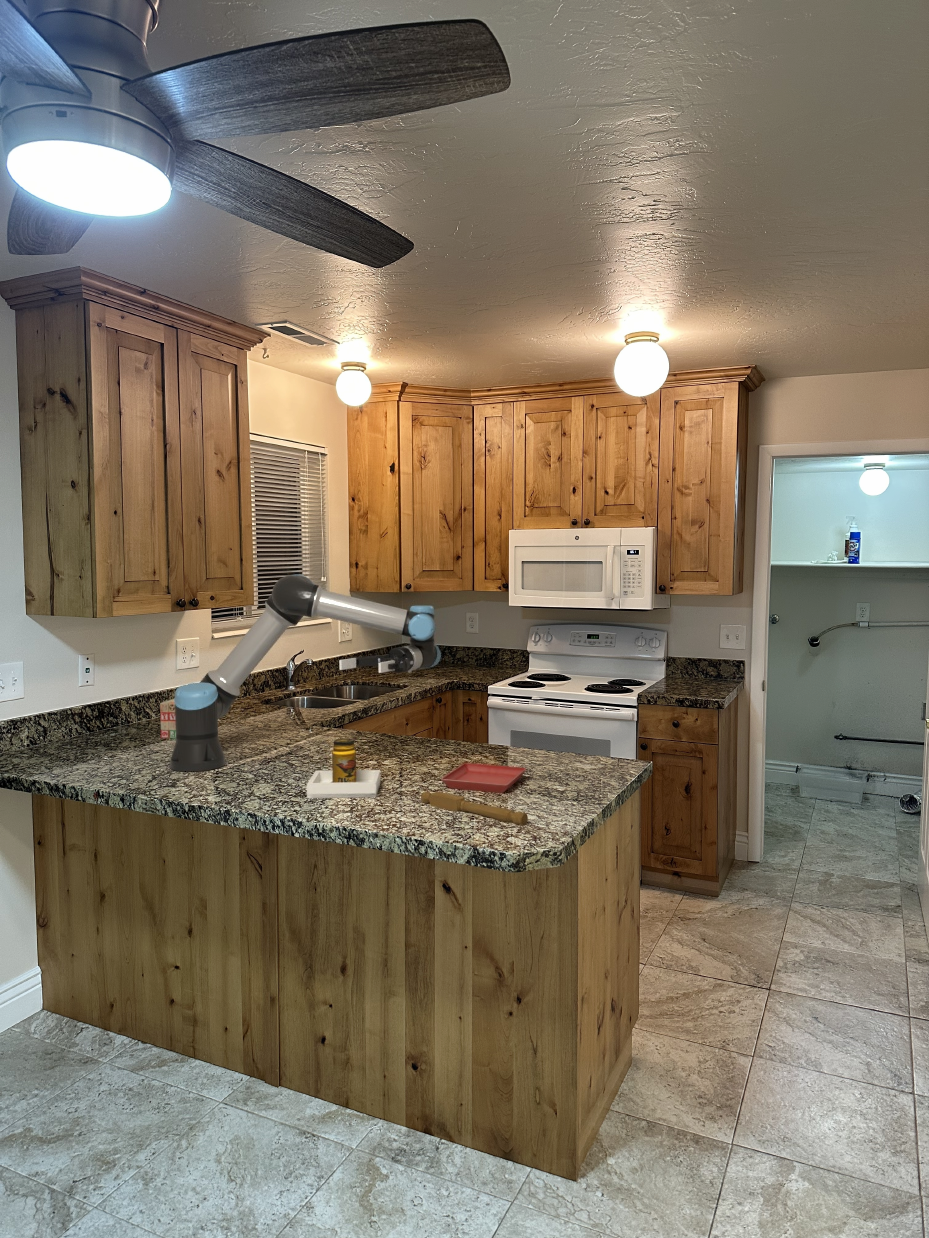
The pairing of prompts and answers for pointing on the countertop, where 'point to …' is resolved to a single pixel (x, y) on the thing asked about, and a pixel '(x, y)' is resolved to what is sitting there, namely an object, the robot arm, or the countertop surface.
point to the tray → (344, 785)
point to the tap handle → (472, 807)
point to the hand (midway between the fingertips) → (359, 666)
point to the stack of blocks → (168, 719)
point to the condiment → (343, 761)
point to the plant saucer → (483, 777)
